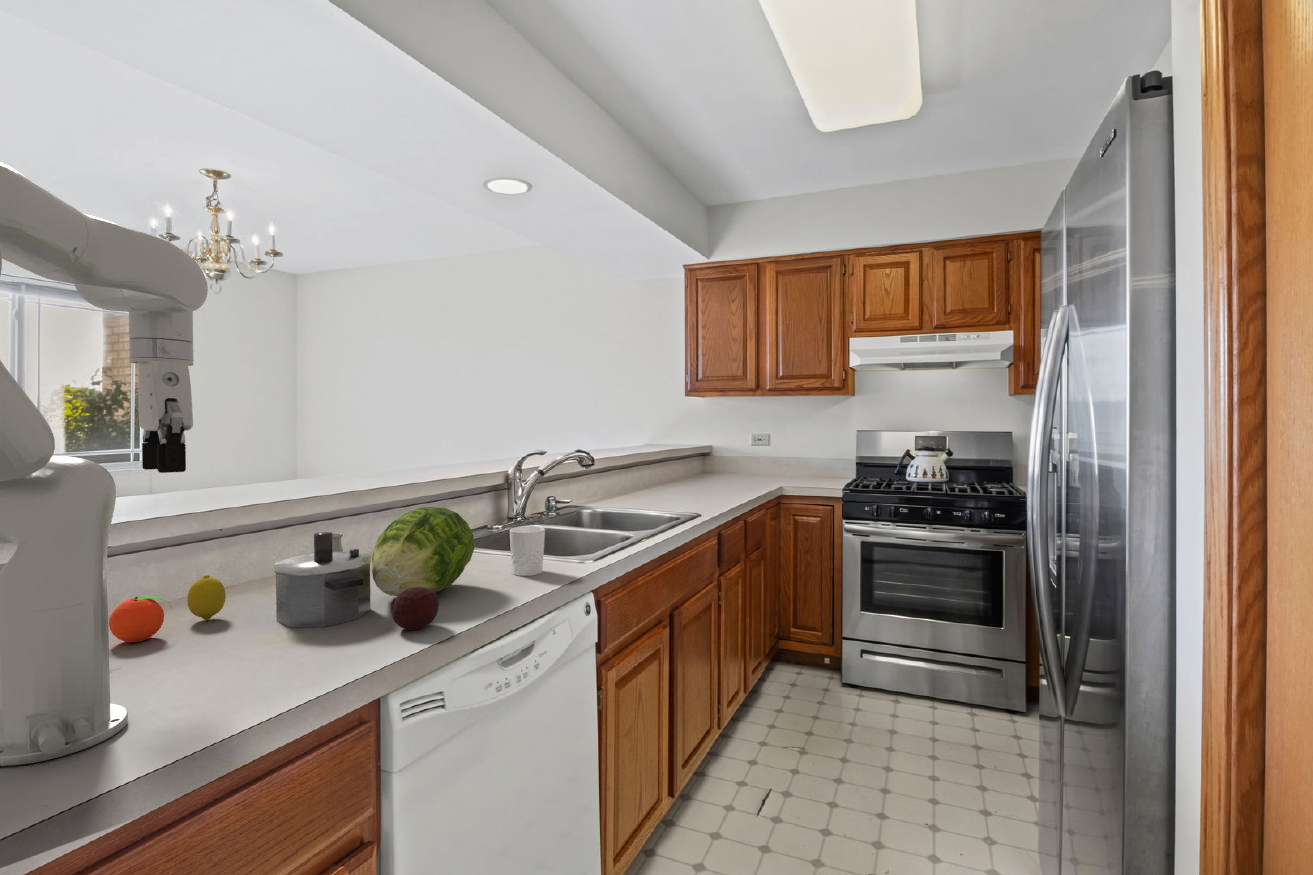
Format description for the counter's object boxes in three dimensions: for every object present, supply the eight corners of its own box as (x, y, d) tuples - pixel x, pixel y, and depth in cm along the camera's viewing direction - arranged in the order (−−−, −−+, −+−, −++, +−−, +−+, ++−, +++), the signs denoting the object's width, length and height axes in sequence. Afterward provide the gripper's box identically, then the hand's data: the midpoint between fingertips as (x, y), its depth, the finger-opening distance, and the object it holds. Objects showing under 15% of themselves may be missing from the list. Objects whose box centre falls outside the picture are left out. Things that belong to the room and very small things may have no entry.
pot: (388, 616, 118) (387, 566, 118) (305, 636, 107) (304, 581, 107) (340, 596, 131) (340, 551, 130) (262, 612, 120) (261, 563, 120)
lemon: (206, 626, 112) (205, 579, 112) (179, 624, 113) (178, 577, 113) (233, 616, 118) (232, 572, 117) (207, 614, 119) (206, 570, 119)
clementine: (170, 629, 111) (169, 587, 110) (175, 640, 106) (174, 596, 105) (108, 640, 105) (106, 596, 105) (110, 652, 100) (109, 605, 100)
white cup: (552, 571, 152) (552, 528, 152) (528, 578, 146) (528, 533, 145) (526, 567, 156) (526, 525, 156) (502, 573, 150) (502, 530, 149)
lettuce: (339, 609, 123) (346, 524, 120) (406, 562, 146) (413, 489, 142) (426, 632, 121) (435, 546, 117) (480, 580, 144) (489, 507, 140)
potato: (447, 624, 114) (447, 583, 114) (417, 638, 107) (416, 595, 107) (413, 619, 117) (412, 579, 117) (381, 633, 110) (380, 591, 109)
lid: (386, 564, 119) (386, 532, 119) (293, 581, 108) (293, 545, 107) (348, 552, 130) (347, 523, 129) (260, 565, 118) (259, 533, 118)
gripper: (209, 352, 94) (210, 472, 94) (177, 359, 105) (179, 466, 106) (143, 347, 88) (144, 475, 88) (118, 356, 100) (119, 469, 100)
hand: (163, 470), depth 97 cm, fingers open, 9 cm apart
